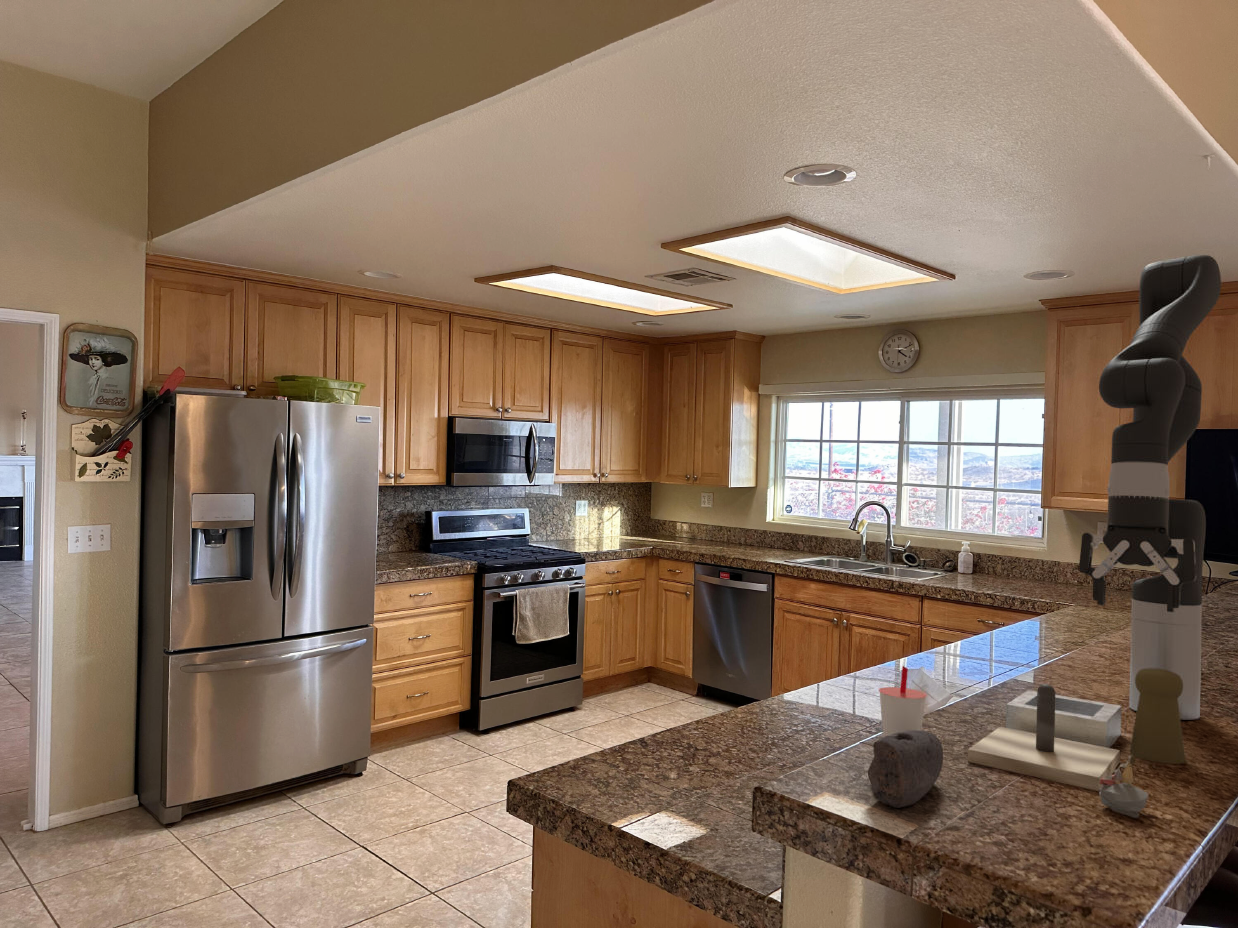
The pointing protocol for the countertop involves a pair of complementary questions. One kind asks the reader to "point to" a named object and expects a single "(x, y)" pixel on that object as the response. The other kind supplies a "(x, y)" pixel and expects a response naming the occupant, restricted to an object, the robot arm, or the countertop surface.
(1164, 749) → the cork
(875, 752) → the perforated stone tool
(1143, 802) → the figurine
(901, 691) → the cup
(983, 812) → the countertop surface
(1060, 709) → the grey hollow block
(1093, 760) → the block
